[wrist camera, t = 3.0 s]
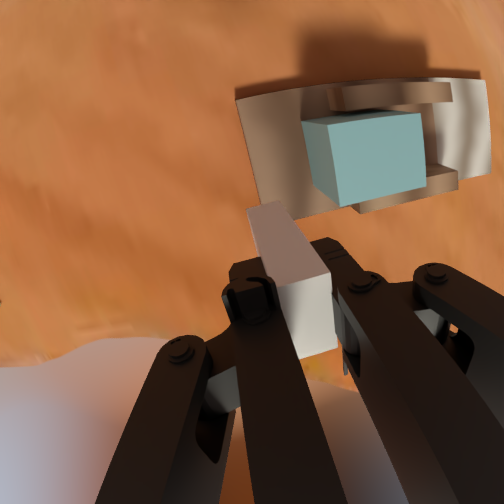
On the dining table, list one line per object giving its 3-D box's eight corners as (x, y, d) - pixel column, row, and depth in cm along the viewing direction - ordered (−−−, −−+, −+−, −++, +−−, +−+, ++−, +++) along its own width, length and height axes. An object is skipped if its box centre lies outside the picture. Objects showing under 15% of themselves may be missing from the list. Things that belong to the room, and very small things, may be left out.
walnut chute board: (265, 223, 30) (273, 242, 26) (235, 100, 25) (239, 98, 20) (486, 171, 30) (509, 180, 26) (479, 79, 25) (505, 81, 21)
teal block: (313, 185, 27) (340, 207, 22) (301, 121, 25) (327, 125, 19) (387, 169, 27) (426, 186, 22) (380, 109, 25) (420, 113, 19)
